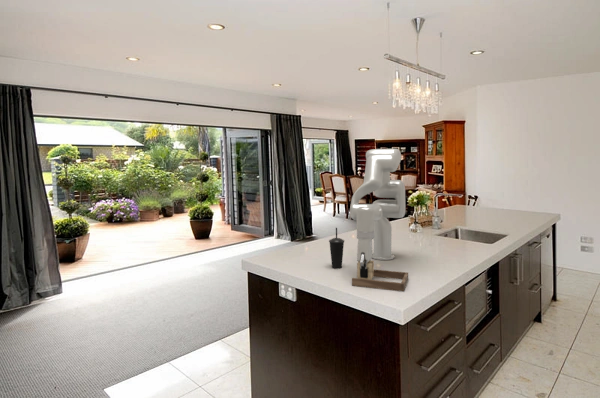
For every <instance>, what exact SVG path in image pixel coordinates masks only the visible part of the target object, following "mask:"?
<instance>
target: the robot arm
mask: <svg viewBox="0 0 600 398" xmlns="http://www.w3.org/2000/svg"><path fill="white" fill-rule="evenodd" d="M401 153H402V152H401V150H400V149H398V148H375V149H374V148H373V149H369V150H367V151H366V152H365V159H366V161H365V170H364V176H363V183H362V184H361V185H360V186H359V187H358V188H357V189H356V190H355V192H354V193H353V195H352V196H351V201H350V208H349V215H350V217H351V219H352V220H354V221H356V239H357V240H358V241H357V253H356V256H357V257H356V261H357V263H358V262H359V261H360V260H361V261H360V277H361V278H368V269H367V262H369V261H372V259H373V260H378V261H389V260H393V259H395V255H394V254H393V253H392V235H393V234H392V229H393V228H392V224H391V222H390V220H389V218H393V219H400V218H401V219H403V218H404V217H405V215H406V187H405V183H404V181H403V180H401V179H391V173H393V172H396V171H397V170H398V167H399V166H400V163H401V161H402V160H401V159H402V154H401ZM371 193H374V196H375V197H376V198H383V199H377V200H375V201H373V202H372V203H365V204H364V203H359V202H360V201H361V199H362V198H364V197H365V196H366V195H369V194H371ZM385 198H386V199H385ZM364 260H366V261H364ZM364 263H366V264H364Z"/></svg>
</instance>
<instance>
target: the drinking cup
mask: <svg viewBox="0 0 600 398" xmlns="http://www.w3.org/2000/svg"><path fill="white" fill-rule="evenodd" d="M328 242H329V249H330V251H329V252H330V259H331V268H332V269H337V270H338V269H342V267H343V255H344V243H345V240H344V239H343V238H340V237H338V227H335V237H333V238H331V239H329V240H328Z"/></svg>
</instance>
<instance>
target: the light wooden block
mask: <svg viewBox="0 0 600 398" xmlns="http://www.w3.org/2000/svg"><path fill="white" fill-rule="evenodd" d="M360 261H361V260H360ZM360 261H359V262H358V261H357V265H356V267H357V270H356V271H357V272H356V273H357V274H356V278H358V279H368V280H373V278H375V277H374V269H375V260H371V261H369V262H367V269H368V278H361V277H360ZM364 261H366V260H364ZM364 264H366V263H364Z"/></svg>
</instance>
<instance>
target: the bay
mask: <svg viewBox="0 0 600 398" xmlns="http://www.w3.org/2000/svg"><path fill="white" fill-rule="evenodd" d="M375 277H376V278H386V279H392V280H393V279H394V280H395V279H396V280H401V282H396V281H386V280H375V279H372V280H368V279H358V278H357V277H351V285H352V286H351V287H361V288H369V289H378V290H387V291H388V290H389V291H397V292H405V290H406V287H407V283H408V280H409V272H406V271H397V270H396V271H395V270H384V269H383V270H382V269H375V268H374V277H373V278H375Z"/></svg>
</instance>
